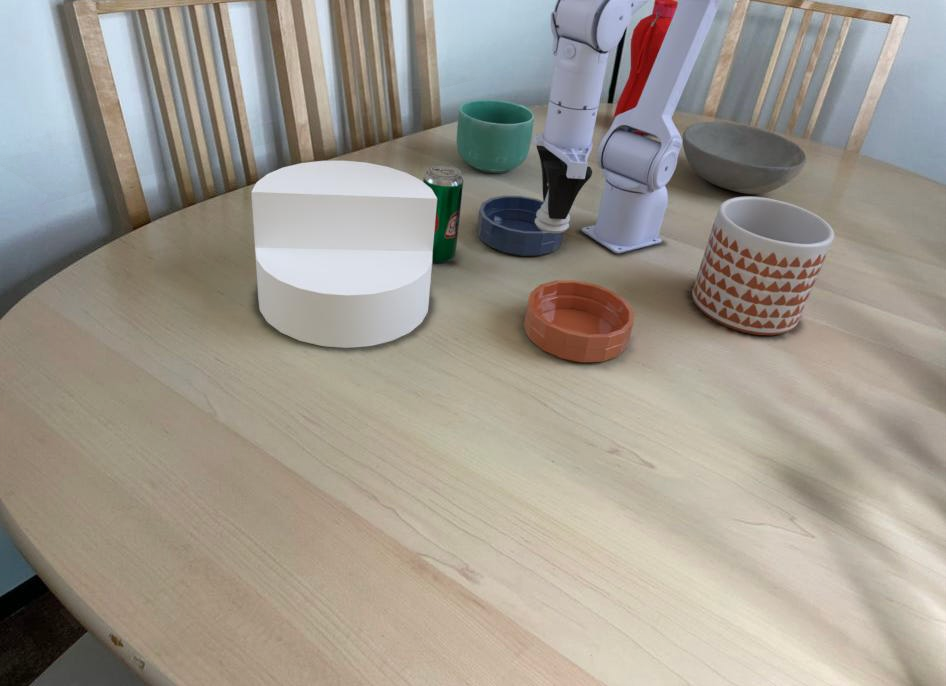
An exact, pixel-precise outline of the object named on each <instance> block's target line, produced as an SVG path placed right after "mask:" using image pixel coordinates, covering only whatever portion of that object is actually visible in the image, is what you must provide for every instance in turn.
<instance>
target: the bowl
mask: <svg viewBox="0 0 946 686" xmlns="http://www.w3.org/2000/svg"><path fill="white" fill-rule="evenodd" d="M682 141H683V142H682V147H683V151H684V155H685V158H686V160H687V162H688V164H689V166H690V167H691V168H692V170H693V171H694V172H695V173H696V174H697V175H698V176H699V177H700V178H702V179H703V180H704V181H707V182H708V183H710V184H712V185H714V186H716V187H719V188H721V189H725V190H729V191H731V192H735V193H739V194H746V195H761V194H762V195H763V194H765V193H770V192H773V191H775V190H777V189H779V188H781V187H783V186H785V185H787V184H788V183H790V182H792V180H793V179H795V178H796V177H797V176H798V175H799V174H800V173H801V172H802V171H803V169H804V167H805V165H806V163H807V155H806V153H805V151H804V150H803V148H801V147H800V146H799V144H797V143H795V142H793V141H791V140H790V139H788V138H787V137H784V136H782V135H781V134H777V133H774V132H772V131H769V130H766V129H763V128H759V127H756V126H755V127H754V126H750V125H745V124H740V123H734V122H727V121H705V122H704V121H703V122H697V123H693V124H691V125H689V126H687V127H686V128H685V129H684V131H683V133H682Z"/></svg>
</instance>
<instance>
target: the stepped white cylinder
mask: <svg viewBox="0 0 946 686" xmlns="http://www.w3.org/2000/svg"><path fill="white" fill-rule="evenodd" d="M250 192H251V205H252V207H251V209H252V223H253V238H254V239H253V240H254V253H255V267H256V284H257V298H258V299H257V300H258V309H259V312H260V313H261V314H262V317H263V318H264V319H265V321H266V322H267V323H268V325H270V326H272V327H273V328H275V329H276V330H277V331H278V332H280V333H281V334H283V335H286V336H288V337H290V338H292V339H295V340H297V341H299V342H303V343H307V344H312V345H316V346H319V347H320V346H321V347H328V348H329V347H330V348H343V349H349V348H350V349H351V348H362V347H363V348H365V347H373V346H376V345H382V344H386V343H388V342H393V341H395V340H397V339H399V338H402V337H403V336H406V335H409V334H410V333H411V332H412V331H414V330H415V329H416V328H417V327H418V326H420V325H421V324H422V323H423V321H424V320H425V317H426V316H427V314H428V312H429V303H430V292H431V281H432V270H433V269H432V268H433V262H432V255H433V242H434V230H435V219H436V207H437V197H436V196H435V194H434V192H433V190H432V189H431V188H430V187H429V186H427V185H426V184H425V183H424V182H423V180H422V179H419V178H417V177H415V176H413V175H411V174H409V173H408V172H406V171H402V170H399V169H396V168H392V167H389V166H386V165H381V164H375V163H371V162H365V161H364V162H363V161H353V160H317V161H308V162H300V163H296V164H292V165H288V166H284V167H281V168H278V169H276V170H274V171H271V172H269V173H267V174H265V175H264V176H263V177H262V178H260V179H259V180H258V181H256V182H255V184H254V186H253V188H252V190H251V191H250Z"/></svg>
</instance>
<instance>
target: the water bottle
mask: <svg viewBox="0 0 946 686" xmlns="http://www.w3.org/2000/svg"><path fill="white" fill-rule="evenodd" d="M678 4H679V1H676V0H654V2H653V8H652V12H651V14H649V15H648V16H646V17H643V18H641V19H640V20H639V22H638V23H637V24H636V25H635V27H634V29H633V31H632V34H631V39H630V70H629V75H628V78H627V80H626V83H625V84H624V87H623V90H622V92H621V93H620V96H619V97H618V101H617V104H616V107H615V111H614V115H613V121H614V120H615V117H616V116H617V115H619V114H622V113H624V112H626V111H629V110H631V109H633V108H635V107H636V106H637V104H638V102H639V99H640V97H641V94H642V92H643V90H644V87H645V85H646V82H647V80H648V77H649V75H650V72H651V70H652V67H653V65H654V63H655V60H656V58H657V55H658V53H659V50H660V48H661V45H662V43H663V41H664V38H665V36H666V33H667V31H668V28H669V26H670V23H671V21H672V19H673V16H674V14H675V11H676V9H677V6H678ZM633 133H636V134H639V135H641V136H647V135H649V134H646V133H643V132H640V131H634V132H633Z"/></svg>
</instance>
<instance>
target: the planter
mask: <svg viewBox="0 0 946 686" xmlns="http://www.w3.org/2000/svg"><path fill="white" fill-rule="evenodd" d="M713 221H714V222H713V224H712V228H711V231H710V234H709V237H708V240H707V242H706V243H707V244H706V246H705V249H704V253H703V256H702V258H701V262H700V266H699V268H698V272H697V274H696V278H695V281H694V284H693V286H692V291H691V297H692V300H693V302H694V304H695V306H696V307H697V308H698V309H699V311H700V312H701V313H703V314H704V315H705V316H706V317H708V318H709V319H711V320H713V321H714V322H715V323H718V324H720V325H722V326H724V327H726V328H729V329H731V330H734V331H737V332H741V333H745V334H748V335H749V334H750V335H757V336H778V335H783V334H786V333H788V332H790V331H792V330H794V329H795V328H796V327H797V326H798V324H799V321H800V319H801V317H802V314H803V313H804V309H805V307H806V305H807V303H808V300H809V298H810V296H811V294H812V291H813V289H814V286H815V284H816V281H817V280H818V277H819V275H820V273H821V269H822V268H823V265H824V263H825V261H826V258H827V256H828V253H829V251H830V249H831V247H832V244H833V242H834V239H835V232H834V229H833V228H832V226H831V225H830V224H829V223H828V222H827V221H826V220H824V219H823V218H822V217H820V216H819V215H817V214H816V213H814V212H812V211H810V210H808V209H805V208H803V207H801V206H798V205H795V204H793V203H790V202H786V201H782V200H778V199H774V198H768V197H761V196H736V197H732V198H728V199H726V200H724V201H723V202H721V204H720V205H719V206H718V209H717V212H716V215H715V218H714V220H713Z"/></svg>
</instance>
